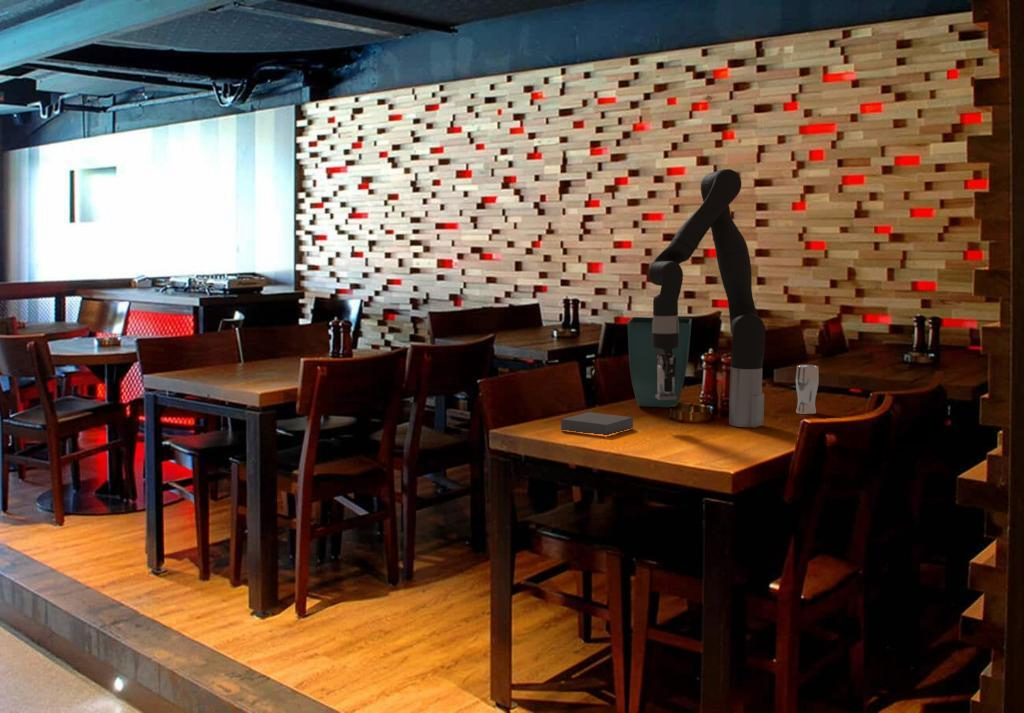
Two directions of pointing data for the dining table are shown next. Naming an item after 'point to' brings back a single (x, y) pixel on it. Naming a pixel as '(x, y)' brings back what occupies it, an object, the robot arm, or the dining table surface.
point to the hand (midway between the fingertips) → (665, 390)
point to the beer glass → (806, 388)
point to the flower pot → (654, 360)
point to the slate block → (597, 423)
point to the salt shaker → (660, 386)
